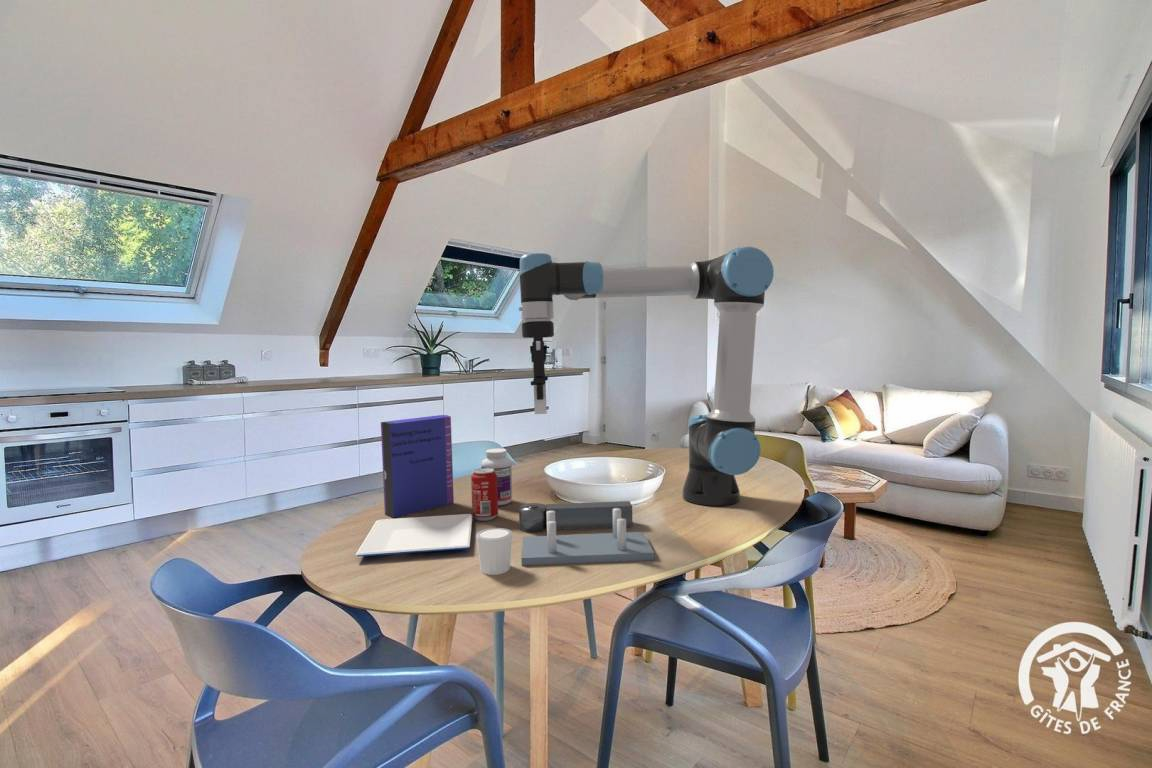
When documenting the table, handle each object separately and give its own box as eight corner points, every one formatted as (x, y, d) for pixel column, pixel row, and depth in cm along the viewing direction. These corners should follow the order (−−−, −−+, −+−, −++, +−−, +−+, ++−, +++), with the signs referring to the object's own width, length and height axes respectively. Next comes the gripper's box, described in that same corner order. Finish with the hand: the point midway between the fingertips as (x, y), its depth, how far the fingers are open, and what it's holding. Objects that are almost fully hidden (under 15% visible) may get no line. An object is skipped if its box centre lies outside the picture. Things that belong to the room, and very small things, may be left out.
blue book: (444, 500, 155) (441, 414, 154) (453, 503, 152) (450, 415, 150) (384, 514, 143) (380, 421, 141) (393, 518, 140) (389, 423, 138)
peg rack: (643, 538, 122) (642, 505, 122) (654, 560, 110) (653, 522, 110) (523, 543, 120) (522, 509, 120) (521, 565, 109) (520, 527, 108)
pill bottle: (487, 498, 156) (486, 447, 155) (515, 498, 155) (514, 447, 154) (478, 506, 148) (476, 453, 147) (508, 507, 147) (506, 453, 146)
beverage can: (500, 514, 142) (499, 467, 141) (494, 522, 135) (493, 473, 134) (476, 513, 142) (474, 467, 141) (469, 521, 136) (467, 473, 135)
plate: (355, 564, 111) (355, 554, 111) (377, 527, 133) (376, 519, 133) (469, 555, 115) (469, 545, 115) (472, 521, 137) (472, 513, 137)
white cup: (507, 577, 103) (506, 540, 103) (471, 575, 104) (470, 538, 104) (517, 562, 110) (516, 528, 109) (484, 561, 111) (483, 526, 111)
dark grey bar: (629, 520, 135) (628, 499, 135) (633, 528, 129) (633, 507, 128) (520, 524, 134) (519, 503, 133) (519, 533, 127) (518, 511, 127)
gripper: (523, 323, 144) (526, 405, 146) (519, 319, 120) (523, 417, 121) (552, 322, 145) (555, 403, 146) (554, 318, 120) (557, 416, 122)
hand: (540, 410), depth 134 cm, fingers open, 13 cm apart
